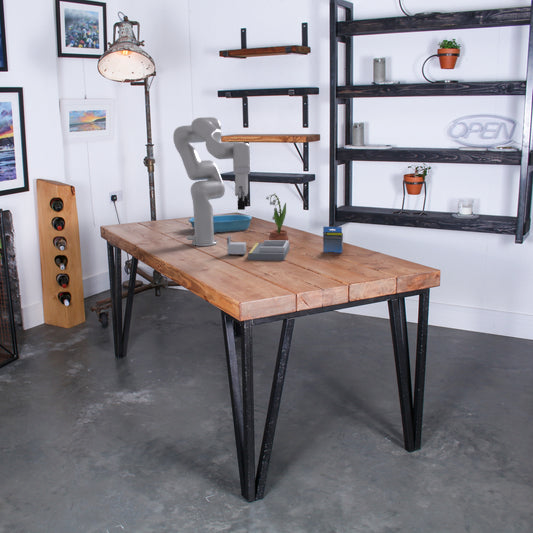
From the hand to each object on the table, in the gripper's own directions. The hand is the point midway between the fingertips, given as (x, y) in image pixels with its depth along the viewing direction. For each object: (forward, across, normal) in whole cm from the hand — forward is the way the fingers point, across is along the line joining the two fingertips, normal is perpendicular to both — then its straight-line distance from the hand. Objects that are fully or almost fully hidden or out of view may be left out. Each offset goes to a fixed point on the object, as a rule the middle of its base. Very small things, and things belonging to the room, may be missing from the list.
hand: (242, 208), depth 294 cm
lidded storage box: (+21, +2, -3) cm, 22 cm away
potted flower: (+22, -27, +13) cm, 37 cm away
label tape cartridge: (+22, -5, +41) cm, 47 cm away
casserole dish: (+22, -62, -22) cm, 69 cm away
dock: (+22, +1, +12) cm, 25 cm away
